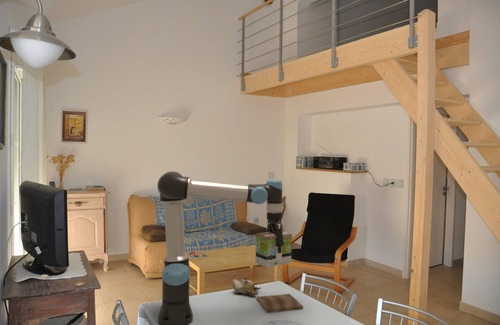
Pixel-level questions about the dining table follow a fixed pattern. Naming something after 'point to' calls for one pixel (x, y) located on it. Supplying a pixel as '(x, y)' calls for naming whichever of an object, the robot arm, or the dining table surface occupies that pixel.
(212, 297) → the dining table surface
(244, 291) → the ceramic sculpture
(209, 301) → the dining table surface
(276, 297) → the walnut board
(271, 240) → the tea box
